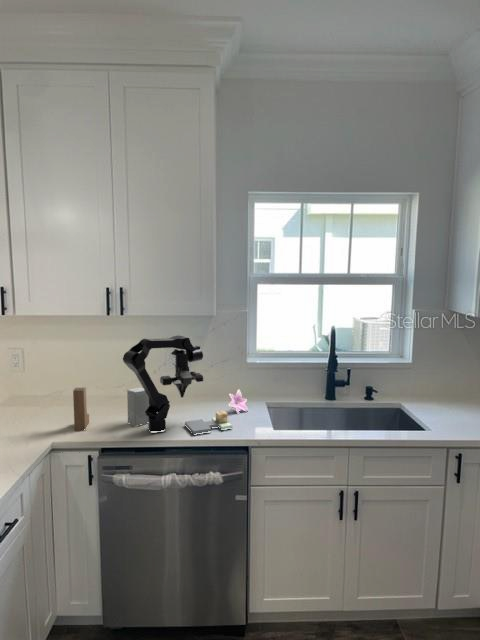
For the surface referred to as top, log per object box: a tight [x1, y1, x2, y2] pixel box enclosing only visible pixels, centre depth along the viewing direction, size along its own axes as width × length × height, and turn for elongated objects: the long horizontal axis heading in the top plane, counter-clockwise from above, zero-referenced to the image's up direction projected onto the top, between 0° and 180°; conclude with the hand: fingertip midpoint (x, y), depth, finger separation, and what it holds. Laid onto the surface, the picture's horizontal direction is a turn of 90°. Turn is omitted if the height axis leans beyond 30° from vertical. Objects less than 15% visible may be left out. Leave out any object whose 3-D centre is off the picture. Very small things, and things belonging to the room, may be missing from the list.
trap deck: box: [184, 416, 233, 435], centre depth 194 cm, size 18×12×2 cm, turn 115°
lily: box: [228, 389, 249, 413], centre depth 216 cm, size 12×12×10 cm
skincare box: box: [126, 386, 150, 427], centre depth 197 cm, size 8×7×16 cm
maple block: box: [215, 410, 228, 423], centre depth 196 cm, size 4×4×4 cm
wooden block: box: [72, 387, 90, 431], centre depth 191 cm, size 9×4×18 cm, turn 8°
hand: (181, 397), depth 198 cm, fingers closed
